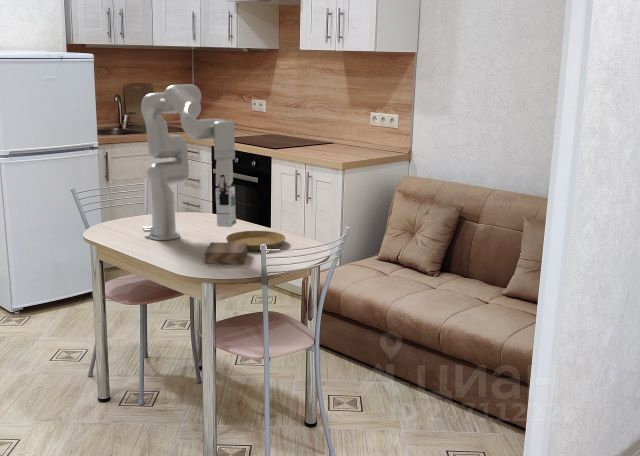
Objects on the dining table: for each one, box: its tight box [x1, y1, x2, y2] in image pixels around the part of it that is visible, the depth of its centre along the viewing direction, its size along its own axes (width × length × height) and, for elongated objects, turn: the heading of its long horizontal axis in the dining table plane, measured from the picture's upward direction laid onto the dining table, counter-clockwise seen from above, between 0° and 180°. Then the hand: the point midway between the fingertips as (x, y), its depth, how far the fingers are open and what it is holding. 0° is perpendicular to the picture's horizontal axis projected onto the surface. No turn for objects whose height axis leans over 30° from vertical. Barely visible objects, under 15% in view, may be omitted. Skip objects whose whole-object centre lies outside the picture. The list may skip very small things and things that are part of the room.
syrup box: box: [215, 185, 237, 228], centre depth 267 cm, size 6×6×14 cm
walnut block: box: [204, 242, 248, 266], centre depth 272 cm, size 14×14×5 cm
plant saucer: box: [225, 230, 286, 252], centre depth 293 cm, size 24×24×3 cm
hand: (225, 202), depth 267 cm, fingers closed on syrup box, 6 cm apart
